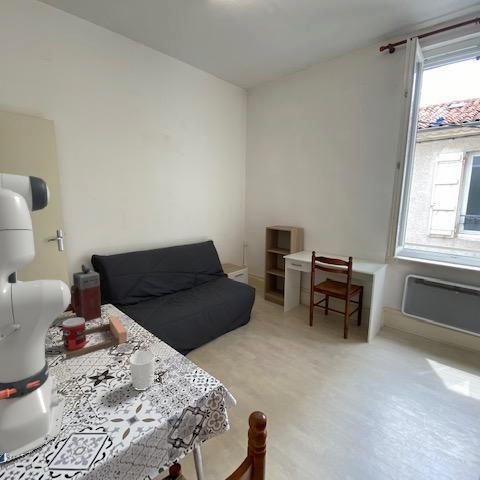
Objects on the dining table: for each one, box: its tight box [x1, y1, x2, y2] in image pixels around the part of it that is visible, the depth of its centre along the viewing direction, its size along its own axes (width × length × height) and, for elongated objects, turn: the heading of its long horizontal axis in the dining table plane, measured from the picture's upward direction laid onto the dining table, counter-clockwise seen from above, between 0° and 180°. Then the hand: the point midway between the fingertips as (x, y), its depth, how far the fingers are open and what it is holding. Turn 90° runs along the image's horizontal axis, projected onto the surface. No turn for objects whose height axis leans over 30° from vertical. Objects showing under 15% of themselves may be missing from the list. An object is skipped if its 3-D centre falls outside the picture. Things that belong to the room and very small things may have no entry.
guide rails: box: [61, 323, 120, 360], centre depth 115 cm, size 18×19×2 cm
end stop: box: [108, 315, 128, 345], centre depth 122 cm, size 18×3×5 cm, turn 38°
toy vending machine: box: [70, 263, 103, 323], centre depth 135 cm, size 9×11×28 cm
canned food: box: [61, 316, 87, 352], centre depth 111 cm, size 8×8×11 cm
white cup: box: [129, 350, 156, 389], centre depth 90 cm, size 8×8×10 cm
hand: (50, 341), depth 106 cm, fingers closed
